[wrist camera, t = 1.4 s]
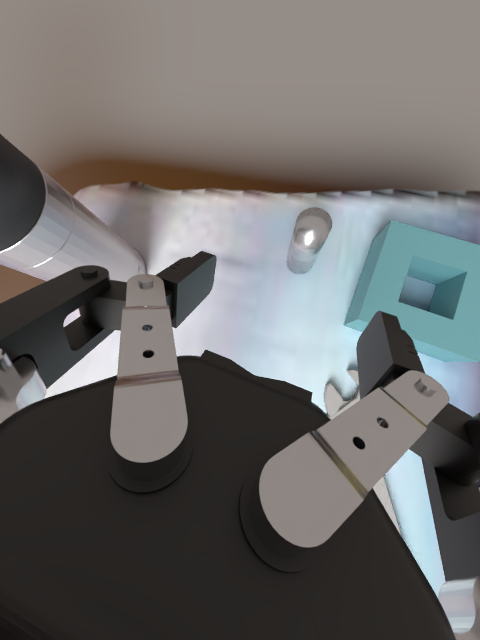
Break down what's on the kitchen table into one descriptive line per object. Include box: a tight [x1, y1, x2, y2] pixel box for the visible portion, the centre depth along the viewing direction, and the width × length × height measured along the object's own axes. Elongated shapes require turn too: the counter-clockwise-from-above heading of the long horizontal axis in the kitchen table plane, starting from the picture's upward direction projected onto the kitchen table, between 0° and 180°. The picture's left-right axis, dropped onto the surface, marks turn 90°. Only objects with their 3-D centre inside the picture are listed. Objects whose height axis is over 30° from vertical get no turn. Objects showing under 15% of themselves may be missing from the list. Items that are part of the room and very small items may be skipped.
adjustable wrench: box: [324, 370, 402, 537], centre depth 29 cm, size 25×6×2 cm, turn 8°
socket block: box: [344, 220, 480, 362], centre depth 30 cm, size 13×13×5 cm
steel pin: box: [287, 208, 332, 274], centre depth 30 cm, size 4×4×10 cm
